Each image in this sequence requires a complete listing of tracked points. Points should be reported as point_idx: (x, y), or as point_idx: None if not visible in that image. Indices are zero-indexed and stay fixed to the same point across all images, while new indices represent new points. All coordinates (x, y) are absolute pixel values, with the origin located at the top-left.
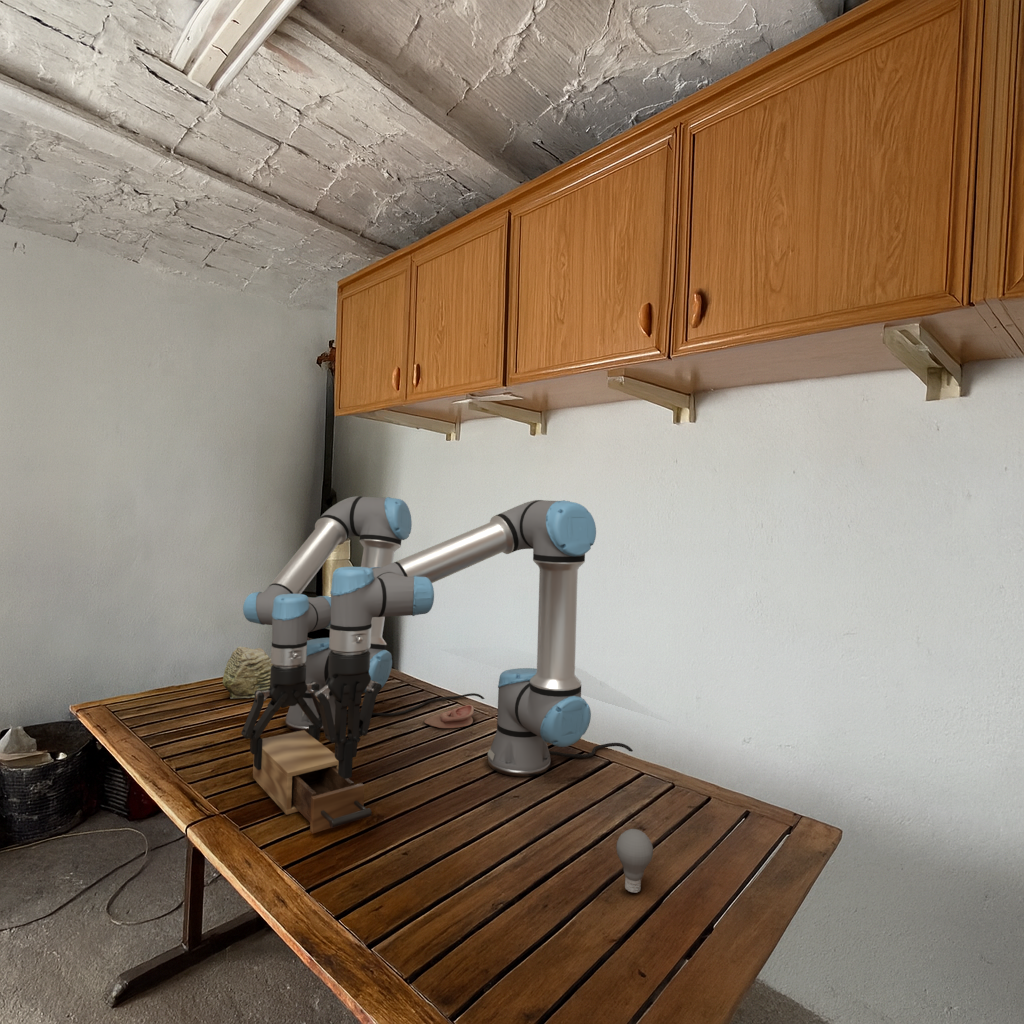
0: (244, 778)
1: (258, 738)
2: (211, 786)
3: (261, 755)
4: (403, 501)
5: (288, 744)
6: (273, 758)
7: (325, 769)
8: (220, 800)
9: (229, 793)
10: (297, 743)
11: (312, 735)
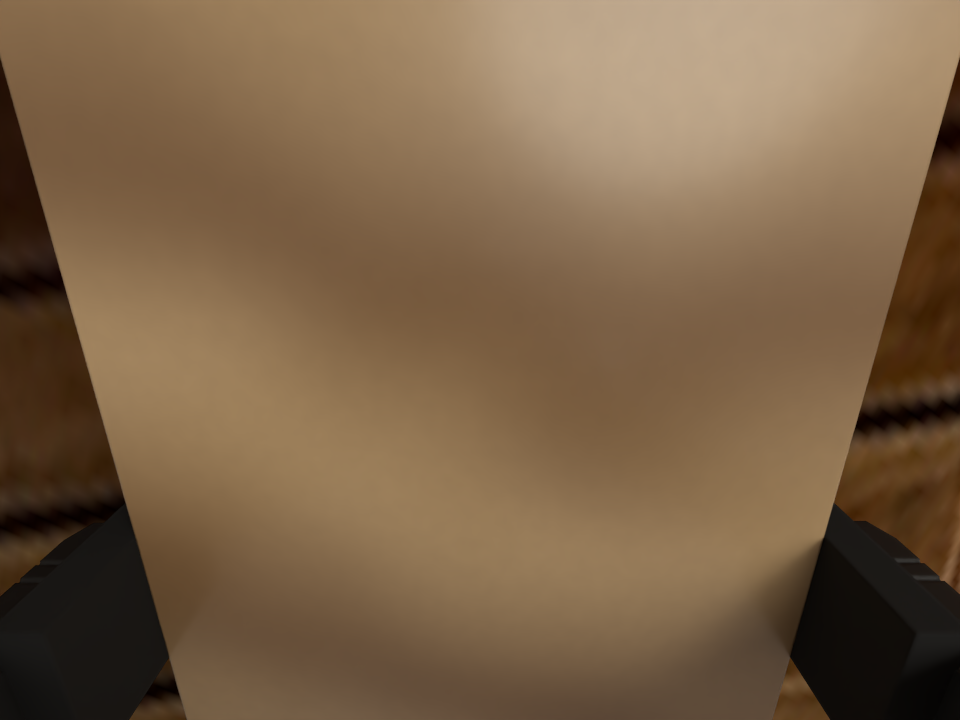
0: None
1: (931, 689)
2: (871, 518)
3: None
4: None
5: (504, 477)
6: (953, 70)
7: None
8: (941, 314)
9: None
10: (386, 450)
11: (129, 568)
